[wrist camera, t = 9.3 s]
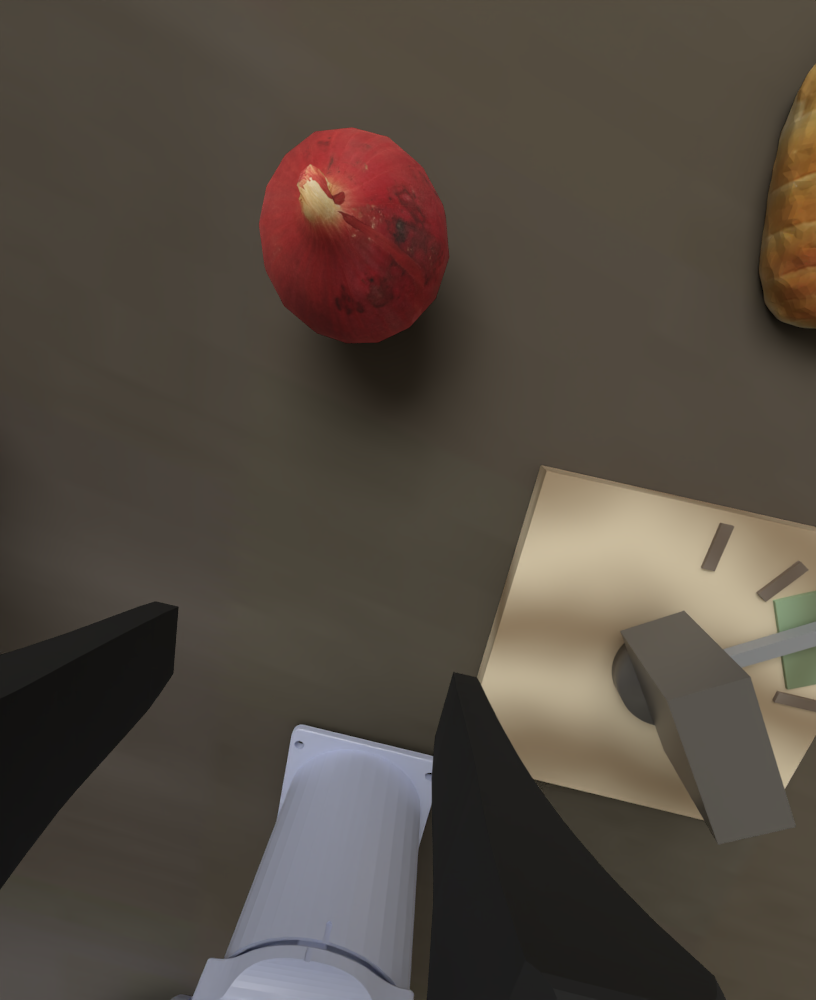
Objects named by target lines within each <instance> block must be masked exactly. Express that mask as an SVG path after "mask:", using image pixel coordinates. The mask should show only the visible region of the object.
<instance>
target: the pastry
mask: <svg viewBox="0 0 816 1000" xmlns="http://www.w3.org/2000/svg"><path fill="white" fill-rule="evenodd" d="M772 171H773V174H772V180H771V183H770V187H769V191H768V198H767V209H766V217H765V224H764V229H763V235H762V243H761V252H760V262H759V275H760V279H761V283H762V287H763V293H764V301H765V304H766V306H767V307H768V309H769V310H770V311H771V312H772V313H773V314H774V316H775V317H776V318H777V319H778V320H780V321H782V322H784V323H788V324H791V325H794V326H797V327H802V328H816V64H815V65H814V66H813V68H812V69H811V70H810V72H809V73H808V74H807V76H806V78H805V80H804V82H803V84H802V86H801V87H800V89H799V91H798V93H797V95H796V97H795V100H794V103H793V105H792V108H791V110H790V113H789V115H788V118H787V120H786V123H785V125H784V127H783V129H782V131H781V135H780V139H779V145H778V151H777V157H776V160H775V163H774V167H773V170H772Z"/></svg>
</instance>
